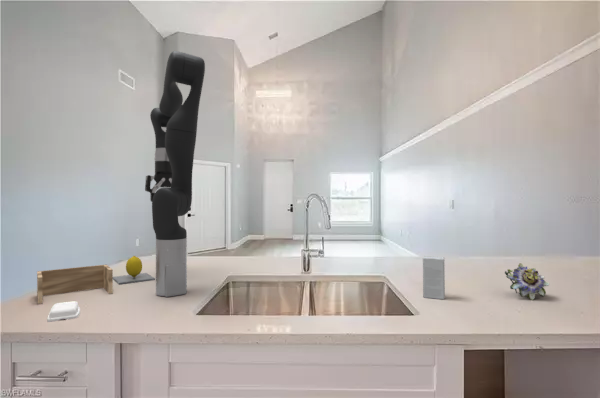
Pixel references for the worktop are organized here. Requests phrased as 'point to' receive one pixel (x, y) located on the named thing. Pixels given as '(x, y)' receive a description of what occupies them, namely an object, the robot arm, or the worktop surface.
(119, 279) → the slate coaster
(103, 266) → the open u-shaped oak frame
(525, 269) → the passion flower
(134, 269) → the lemon
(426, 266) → the skincare box
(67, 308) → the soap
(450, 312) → the worktop surface
